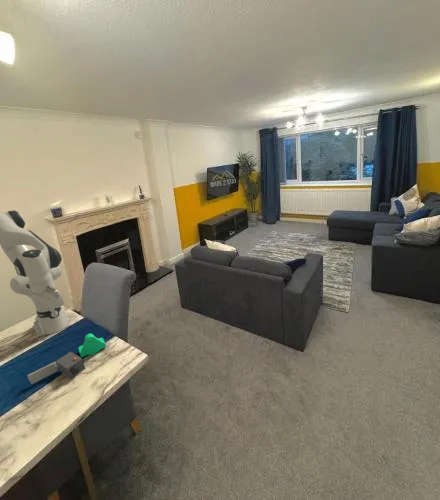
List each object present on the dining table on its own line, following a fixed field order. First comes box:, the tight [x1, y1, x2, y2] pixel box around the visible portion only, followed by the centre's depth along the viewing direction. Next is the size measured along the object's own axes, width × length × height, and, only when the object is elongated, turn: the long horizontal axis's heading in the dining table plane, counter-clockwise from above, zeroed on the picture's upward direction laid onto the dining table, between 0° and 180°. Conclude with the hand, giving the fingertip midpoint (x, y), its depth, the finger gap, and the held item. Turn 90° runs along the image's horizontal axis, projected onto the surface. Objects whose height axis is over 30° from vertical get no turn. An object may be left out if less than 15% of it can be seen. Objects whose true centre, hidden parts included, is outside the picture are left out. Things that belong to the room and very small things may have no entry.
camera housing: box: [55, 351, 86, 380], centre depth 122 cm, size 11×7×7 cm, turn 57°
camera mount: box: [78, 333, 107, 359], centre depth 134 cm, size 12×8×10 cm, turn 125°
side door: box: [27, 361, 59, 385], centre depth 119 cm, size 11×2×5 cm, turn 132°
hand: (51, 310), depth 123 cm, fingers closed
